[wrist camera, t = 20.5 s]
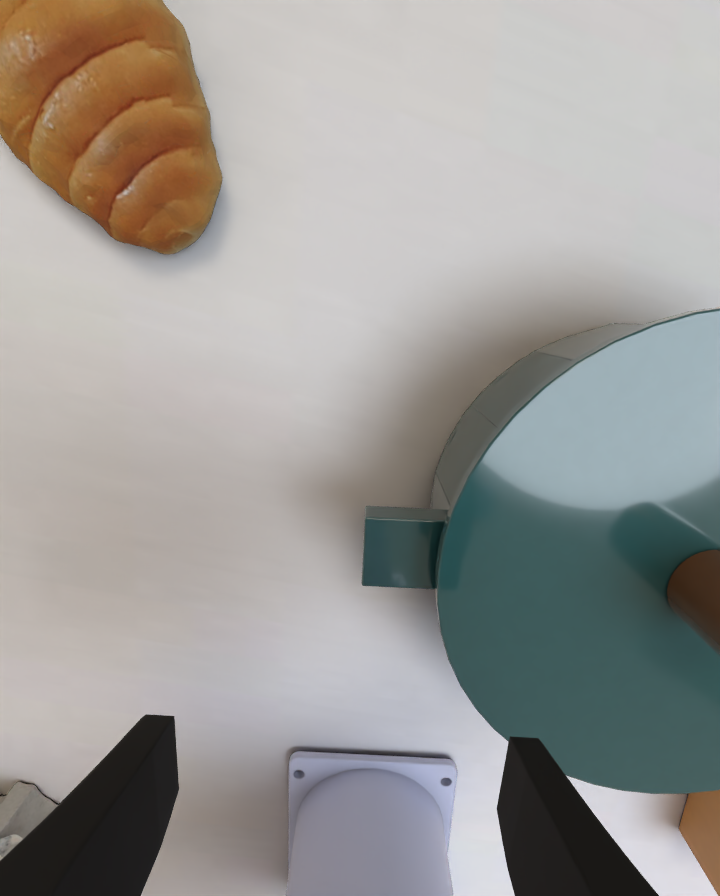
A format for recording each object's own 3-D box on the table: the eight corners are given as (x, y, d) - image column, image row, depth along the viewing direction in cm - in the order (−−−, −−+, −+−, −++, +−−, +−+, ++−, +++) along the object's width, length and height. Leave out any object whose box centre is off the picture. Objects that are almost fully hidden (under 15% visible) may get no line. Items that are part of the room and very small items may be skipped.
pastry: (281, 192, 17) (255, 158, 13) (129, 296, 18) (66, 291, 14) (114, -99, 15) (27, -235, 11) (-46, 38, 16) (-173, -44, 12)
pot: (803, 670, 22) (944, 786, 16) (357, 648, 22) (353, 756, 16) (918, 336, 18) (1152, 345, 12) (373, 312, 18) (374, 311, 13)
